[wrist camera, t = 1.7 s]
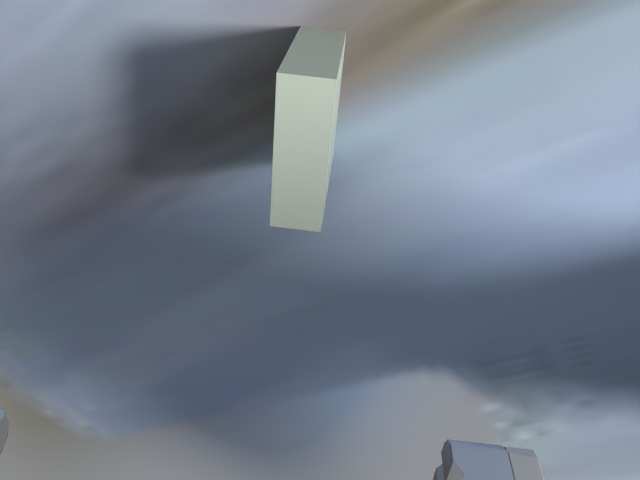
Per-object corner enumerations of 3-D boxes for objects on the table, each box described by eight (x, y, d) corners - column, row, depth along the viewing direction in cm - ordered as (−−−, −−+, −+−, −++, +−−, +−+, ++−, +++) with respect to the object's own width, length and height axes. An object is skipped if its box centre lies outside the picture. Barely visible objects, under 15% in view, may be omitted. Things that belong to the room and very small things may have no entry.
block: (346, 30, 25) (336, 79, 19) (332, 157, 28) (320, 232, 22) (300, 26, 25) (276, 72, 19) (292, 152, 28) (269, 226, 22)
